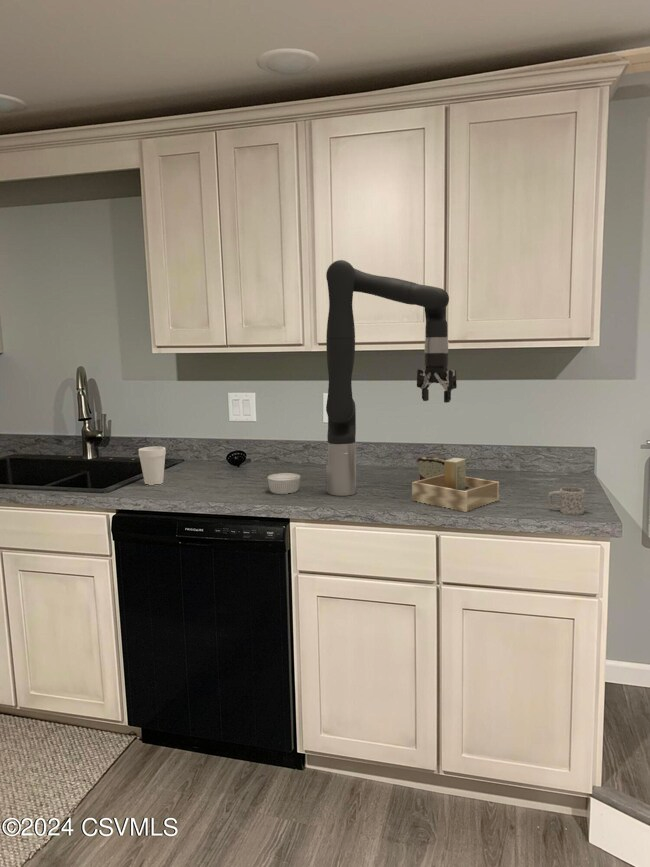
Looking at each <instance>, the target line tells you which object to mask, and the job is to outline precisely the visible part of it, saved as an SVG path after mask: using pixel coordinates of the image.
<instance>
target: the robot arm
mask: <svg viewBox="0 0 650 867" xmlns="http://www.w3.org/2000/svg"><path fill="white" fill-rule="evenodd" d="M325 277H326V283H327V290H328V291H327V292H328V305H329V306H328V314H327V315H328V316H327V324H326V340H325V341H326V343H325V344H326V348H325V349H326V362H327V372H328V373H327V374H328V375H327V376H328V388H327V398H326V399H327V400H326V406H325V407H326V408H325V410H326V414H327V436H326V437H327V463H326V465H325V471H326V472H325V475H326V476H325V478H326V479H325V480H326V481H325V482H326V493H328V494H329V495H331V496H335V497H336V496H337V497H343V496H345V497H346V496H352V495H355V494H356V493H357V465H356V464H357V457H356V454H357V452H356V449H357V448H356V435H357V433H356V432H357V427H356V426H357V423H356V419H357V418H356V414H357V412H356V410H357V408H356V403H355V400H354V399H353V390H352V376H353V370H354V366H355V365H354V364H355V356H356V355H355V354H356V329H355V318H354V311H353V300H354V298H353V297H354V292H355V293H363V294H368V295H372V296H377V297H380V298H383V299H387V300H390V301H393V302H396V303H402V304H406V305H410V306H411V305H412V306H413V305H414V306H419V307H423V308H424V315H425V336H424V337H425V338H424V366H425V368H421V369H420V368H419V369H417V370H416V371H417V372H416V388H420V389H421V400H423V402H428V401H429V397H430V396H429V391H430V390H429V388H430V387H431V385H432V384H440V386H442V388H443V389H444V391H443V402H444V403H450V402H451V399H452V390H454V389H457V387H458V386H457V371H456V369H451V370H450V369H449V370H448V365H449V341H448V321H447V318H446V316H447V314H446V311H447V309H446V308H447V306H448V305H449V302H450V296H449V294H448V292H447V291H446V290H445V289H443V288H440V287H437V286H431V285H425V284H419V283H416V282H413V281H409V280H404V279H401V278H396V277H390V276H382V275H375V274H372V273H367V272H364V271H361V270H359V269H357V268H354V266H353V265H352V264H351V263H349V262H348V261H346V260H343V259H340V260H339V259H337V260H336V261H333V262H332V263H331V264H330V265H329V266H328V267H327V270H326V273H325ZM425 376H426V377H425Z"/></svg>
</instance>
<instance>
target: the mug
mask: <svg viewBox="0 0 650 867" xmlns="http://www.w3.org/2000/svg"><path fill="white" fill-rule="evenodd" d="M585 492H586V491H585V489H584V488H582V487H576V486H565V487H564V486H563V487H560V489H559V490H554V491H550V492H548V495H547V505H548V507H549V508H552V509H556V510H559V512H560V513H562V514H564V515H570V516H578V515H577V514H580V515H583V514H584V513H585V495H586V494H585ZM553 496H559V504H554V503H552V497H553Z"/></svg>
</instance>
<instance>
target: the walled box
mask: <svg viewBox="0 0 650 867" xmlns="http://www.w3.org/2000/svg"><path fill="white" fill-rule="evenodd" d="M444 480H445V479H444V474H442V475H438V476H435V477H431V478H427V479H423V480H419V479H418V480H416V481H412V482H411V501H412V502H415V501H417V502H416V503H419V502H421V503H420V504H424V503H426V504H425V505H429V504H431V506H434V505H437V506H436V507H439V506H442V507H441V508H444V507H446V508H445V509H448V508H451V509H450V510H453V509H455V511H458V510H459V511H458V512H463V513H466V512H469V510H470V511H472V509H473V510H475V509H474V508H476V509H478V508H477V507H479V508H481V507H480V506H482V507H484V506H483V505H485V506H487V505H486V504H488V503H491V502H494V501H497V500H500V481H495V480H488V479H484V478H478V477H471V476H466V489H465V490H456V489H451V488H445V483H444ZM497 502H498V501H497ZM494 503H495V502H494ZM491 504H492V503H491ZM488 505H489V504H488Z"/></svg>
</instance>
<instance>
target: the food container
mask: <svg viewBox="0 0 650 867" xmlns="http://www.w3.org/2000/svg"><path fill="white" fill-rule="evenodd" d="M446 460H449V458H448V457H447V456H443V455H436V454H434V455H433V454H426V455H425V454H424V455H417V457H416V461H415V462H416V463H417V469H418V471H417V472H418V481H419V480H423V479H427V478H431V477H435V476H438V475H442V474H444V461H446Z"/></svg>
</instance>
